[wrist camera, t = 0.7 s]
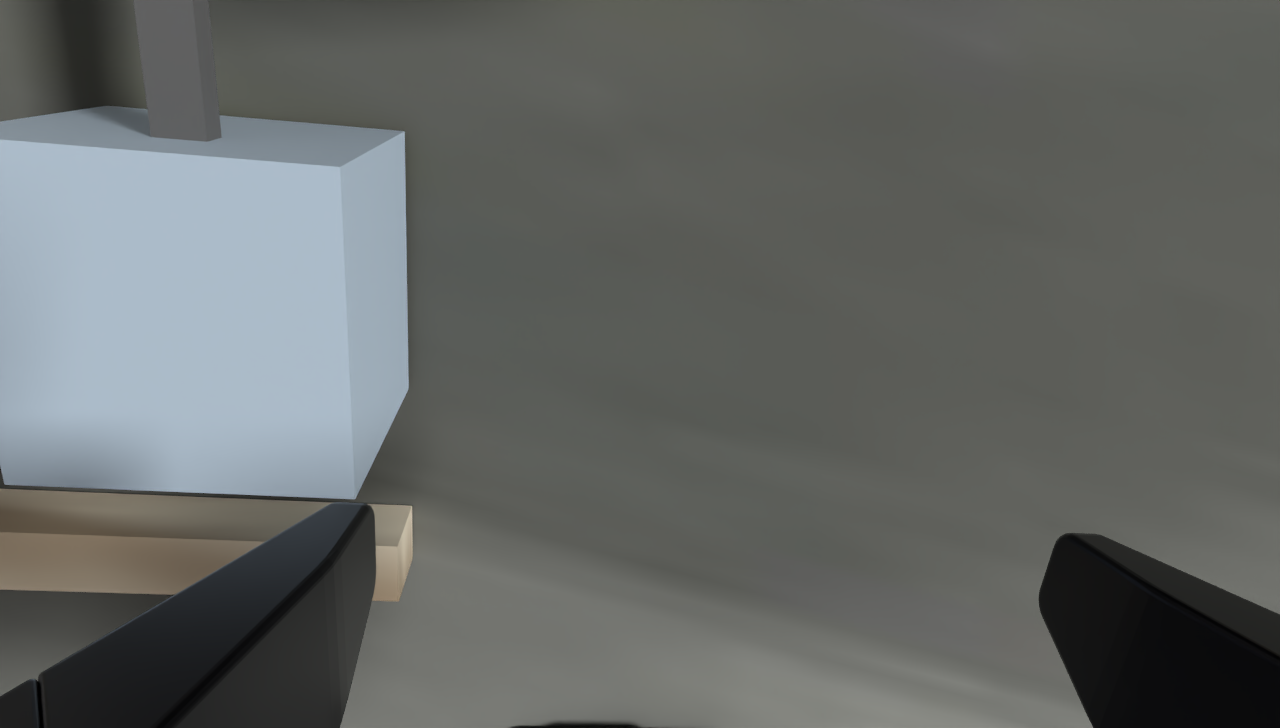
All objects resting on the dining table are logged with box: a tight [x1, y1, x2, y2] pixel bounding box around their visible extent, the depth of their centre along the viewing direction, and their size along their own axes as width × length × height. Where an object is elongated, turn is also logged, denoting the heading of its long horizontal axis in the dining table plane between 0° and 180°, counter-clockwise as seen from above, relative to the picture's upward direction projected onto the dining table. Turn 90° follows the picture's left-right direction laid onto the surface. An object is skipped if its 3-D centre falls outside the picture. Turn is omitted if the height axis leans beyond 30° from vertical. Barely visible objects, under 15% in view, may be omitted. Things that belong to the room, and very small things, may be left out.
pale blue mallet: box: [0, 0, 409, 499], centre depth 14 cm, size 14×6×5 cm, turn 175°
